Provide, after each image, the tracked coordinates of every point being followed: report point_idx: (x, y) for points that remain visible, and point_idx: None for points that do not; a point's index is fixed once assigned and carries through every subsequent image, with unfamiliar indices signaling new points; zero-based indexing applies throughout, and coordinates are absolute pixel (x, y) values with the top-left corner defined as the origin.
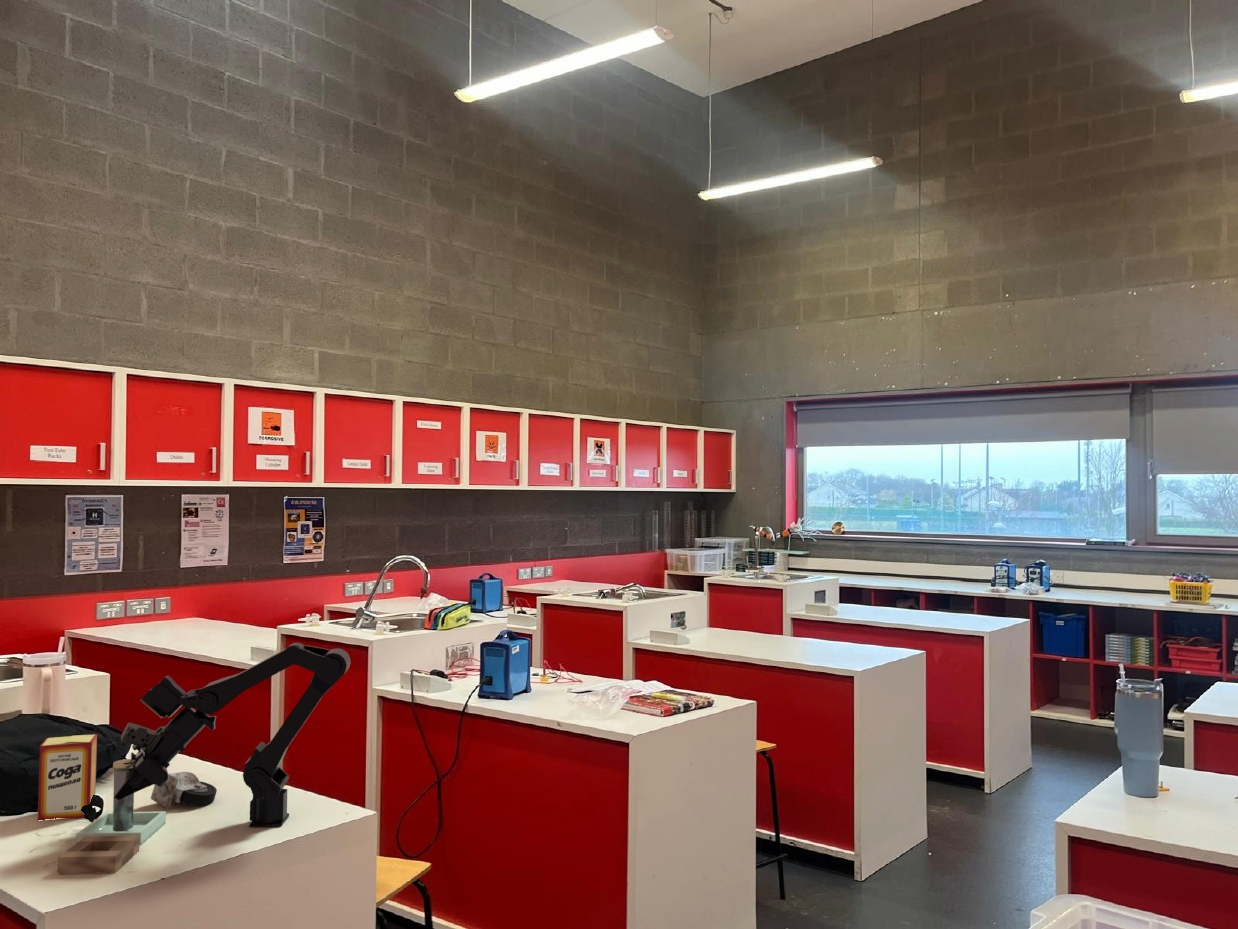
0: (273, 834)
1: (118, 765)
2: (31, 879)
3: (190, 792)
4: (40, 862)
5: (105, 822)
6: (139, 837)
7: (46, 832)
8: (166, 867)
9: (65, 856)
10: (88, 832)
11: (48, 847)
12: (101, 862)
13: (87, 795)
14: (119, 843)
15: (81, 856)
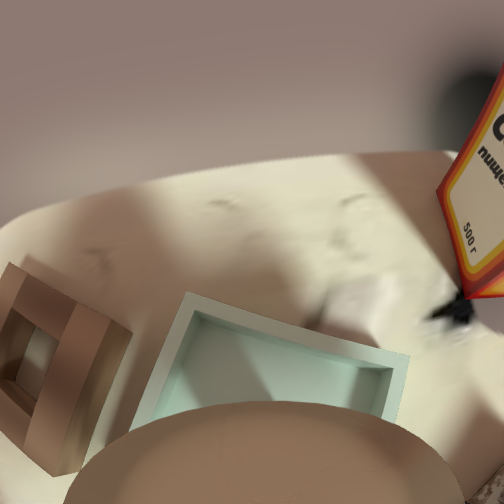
0: None
1: (76, 486)
2: (39, 236)
3: None
4: (121, 235)
5: (368, 367)
6: (55, 476)
7: (362, 214)
8: None
9: (2, 277)
10: (182, 328)
11: (230, 234)
12: None
13: (500, 263)
14: (14, 411)
15: None
